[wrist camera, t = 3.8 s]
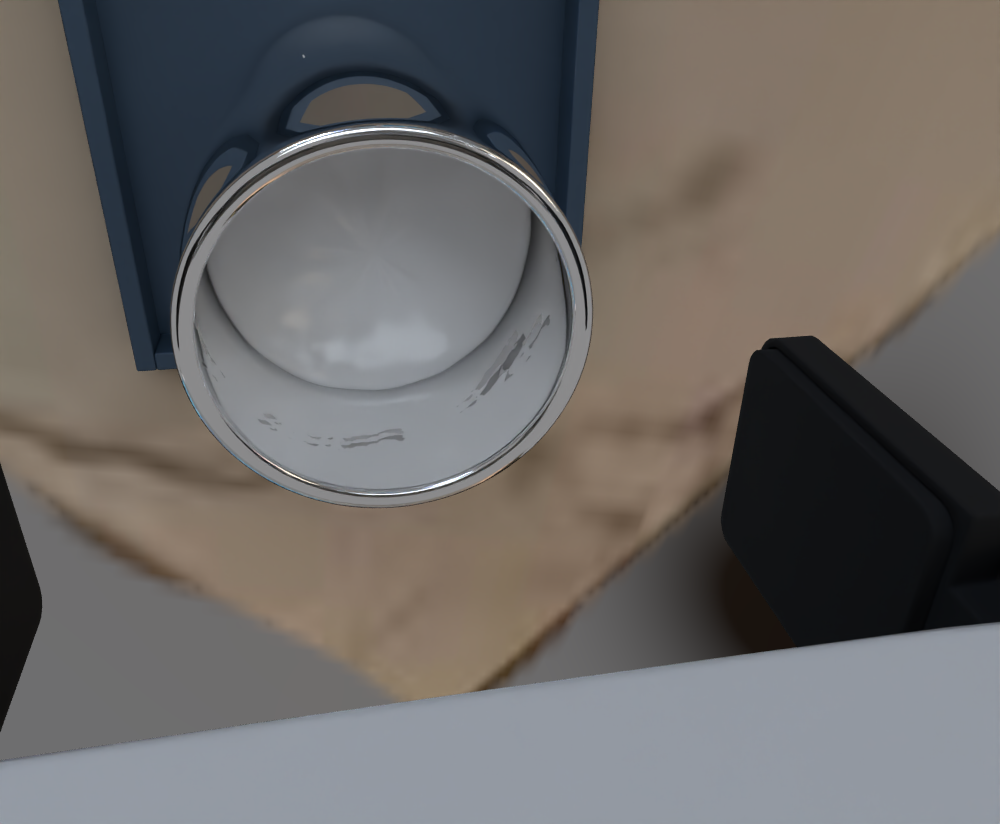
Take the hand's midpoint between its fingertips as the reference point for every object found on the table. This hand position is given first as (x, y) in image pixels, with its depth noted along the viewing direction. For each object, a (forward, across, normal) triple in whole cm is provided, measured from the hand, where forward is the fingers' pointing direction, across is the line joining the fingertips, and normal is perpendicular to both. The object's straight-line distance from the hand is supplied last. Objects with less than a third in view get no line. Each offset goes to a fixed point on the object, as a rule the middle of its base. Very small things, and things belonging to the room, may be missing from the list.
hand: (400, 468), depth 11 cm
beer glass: (+18, 0, 0) cm, 18 cm away
